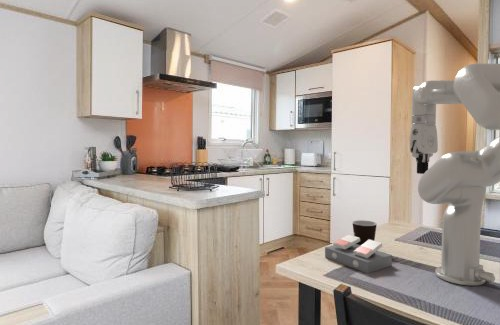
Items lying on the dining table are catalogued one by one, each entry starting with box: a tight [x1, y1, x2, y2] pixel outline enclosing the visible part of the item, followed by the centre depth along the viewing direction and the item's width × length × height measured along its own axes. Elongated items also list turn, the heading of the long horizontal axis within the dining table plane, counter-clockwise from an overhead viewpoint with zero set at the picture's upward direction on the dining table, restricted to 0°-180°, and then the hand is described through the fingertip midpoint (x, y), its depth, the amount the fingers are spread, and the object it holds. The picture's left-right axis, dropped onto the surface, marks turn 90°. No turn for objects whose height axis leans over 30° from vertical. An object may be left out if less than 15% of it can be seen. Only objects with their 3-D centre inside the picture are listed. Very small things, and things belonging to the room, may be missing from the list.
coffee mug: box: [352, 219, 378, 245], centre depth 129 cm, size 12×9×10 cm
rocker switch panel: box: [324, 244, 393, 274], centre depth 115 cm, size 18×12×4 cm
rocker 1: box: [332, 234, 360, 250], centre depth 119 cm, size 5×8×1 cm, turn 122°
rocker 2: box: [354, 240, 383, 258], centre depth 111 cm, size 5×8×1 cm, turn 122°
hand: (422, 173), depth 120 cm, fingers closed
